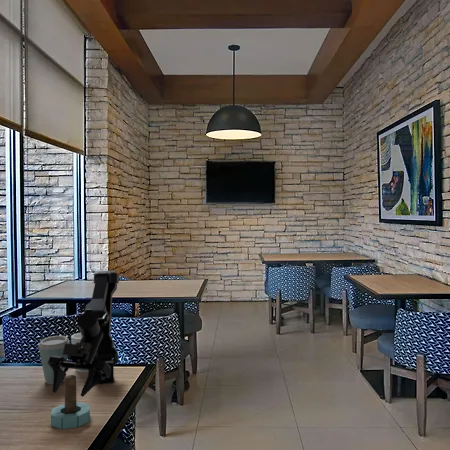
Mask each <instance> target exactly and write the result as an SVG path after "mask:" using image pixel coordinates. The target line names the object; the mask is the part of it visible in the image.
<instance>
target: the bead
mask: <svg viewBox="0 0 450 450" xmlns="http://www.w3.org/2000/svg"><path fill="white" fill-rule="evenodd" d="M76 405H77V412H76V413H74V414H65V403H62V404H59V405H57V406H56V407H53V408H52V409H51V413H50V425H51V427H54V428H57V429H60V430H62V429H63V430H65V429H67V430H68V429H75V428H79V427H81V426H83V425H85V424H87V423H89V422H90V417H91V416H90V414H91V410H90V409H91V408H90V407H91V406H90V404H88V403H84V402H81V401H76Z"/></svg>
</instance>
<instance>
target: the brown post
mask: <svg viewBox="0 0 450 450" xmlns="http://www.w3.org/2000/svg"><path fill="white" fill-rule="evenodd" d="M63 382H64V404H65V414H74V413H76V412H77V405H76V402H77V376H76V375H74V374H69V375H66V377H65V378H64V381H63Z"/></svg>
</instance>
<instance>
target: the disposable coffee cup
mask: <svg viewBox="0 0 450 450" xmlns="http://www.w3.org/2000/svg"><path fill="white" fill-rule="evenodd" d="M68 338H69V337H67V336H66V335H53V336H49V337H45V338H43V339H42V340H40V341H39V343H38V345H37V349H38V350H39V352H38V353H39V355H40V361H41V362H40V363H41V366H42V373H43V376H44V380H45V382H46V383H45V384H48V385H53V380H54V372H53V370H52V368H51V367H50V366H49V365H48V364H47V362H48V360H49V358H50V357H51V356H63V357H64V358H65V360H66V361H68V360H69V358H68V356H69V355H63V350H64V346H65V343H67V344H71V343H70V341H71V340H69V339H68ZM65 373H66V374H67V372H65ZM63 382H64V380H63Z"/></svg>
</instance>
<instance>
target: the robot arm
mask: <svg viewBox="0 0 450 450" xmlns="http://www.w3.org/2000/svg"><path fill="white" fill-rule="evenodd" d="M119 282H120V275H119V273H118V272H117V271H116V270H98V272H95V273H93V284H94V287H93V292H92V295H91V300H90V302H88V303H87V304H86V305H85V307H84V311H83V312H81V314H80V315H79V316H78V318H77V321H76V323H77V326H78V328H79V333H81V335H82V338H81V341H80V343H76V344H72V343H70V344H67V343H65V346H64V350H63V355H68V360H71V361H68V360H67V361H66V360H65V358H64V357H63V356H51V357H50V358H49V360H48V362H47V364H48V365H49V366H50V367H51V368H52V370H53V372H54V380H53V384H52V393H54V394H55V393H57V391H58V390H59V389H60V387H61V385H62V384H63V382H64V381H63V380H64V378H65V377H66V376H68V375H67V372H68V371H69V369H72V370H76V369H80V370H88V372H87V377H86V380H85V381H84V384H83V387H82V389H81V393H80V397H82V398H83V397H85V396H86V394H88V393H90V391H91V390H92V389H93V388H94V387H95V386H96V385H98V384H99V385H100V384H109V383H115V377H114V374H115V373H114V371H115V370H114V367H115V365H117V364H118V363H119V352H118V351H117V348H116V346H115V342H114V340H113V338H112V336H111V328H112V311H113V310H112V309H113V295H114V294H115V292H116V291H117V289H118V284H119ZM65 372H66V373H65Z"/></svg>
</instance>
